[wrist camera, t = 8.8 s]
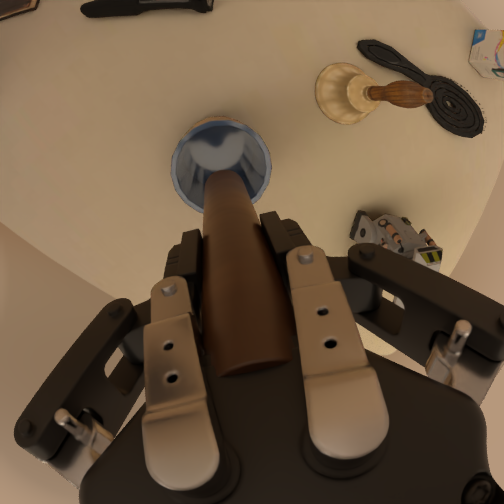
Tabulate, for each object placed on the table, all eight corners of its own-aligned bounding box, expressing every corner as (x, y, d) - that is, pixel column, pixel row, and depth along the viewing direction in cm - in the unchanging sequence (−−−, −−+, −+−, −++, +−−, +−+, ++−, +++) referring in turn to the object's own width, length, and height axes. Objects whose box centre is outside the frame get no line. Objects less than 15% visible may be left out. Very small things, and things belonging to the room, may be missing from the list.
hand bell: (301, 92, 30) (369, 90, 16) (342, 50, 27) (424, 32, 14) (346, 137, 33) (426, 167, 20) (383, 96, 31) (471, 109, 17)
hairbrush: (374, 16, 23) (492, 108, 28) (362, 22, 26) (477, 105, 31) (358, 67, 26) (480, 151, 32) (346, 70, 30) (465, 145, 35)
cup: (191, 196, 35) (186, 226, 27) (172, 126, 30) (159, 134, 22) (261, 180, 35) (278, 204, 27) (248, 108, 30) (261, 110, 22)
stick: (209, 210, 21) (221, 428, 7) (200, 174, 19) (186, 375, 5) (247, 201, 21) (320, 406, 7) (239, 165, 19) (319, 346, 5)
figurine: (336, 268, 43) (380, 335, 30) (359, 199, 38) (423, 251, 25) (381, 271, 45) (428, 330, 32) (405, 210, 40) (468, 258, 27)
